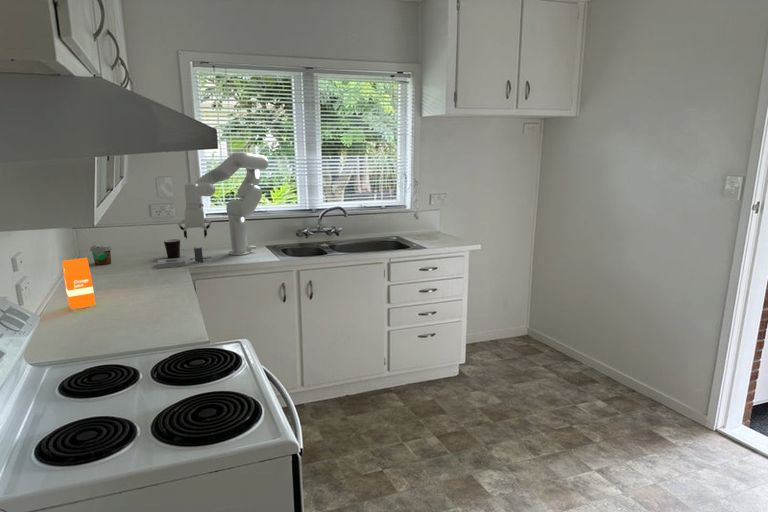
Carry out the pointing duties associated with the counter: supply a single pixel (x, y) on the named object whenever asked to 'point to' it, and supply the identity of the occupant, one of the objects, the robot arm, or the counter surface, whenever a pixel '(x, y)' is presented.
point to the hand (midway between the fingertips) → (195, 237)
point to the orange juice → (78, 283)
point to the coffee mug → (172, 248)
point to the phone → (203, 257)
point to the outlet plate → (171, 262)
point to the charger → (198, 254)
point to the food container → (101, 255)
